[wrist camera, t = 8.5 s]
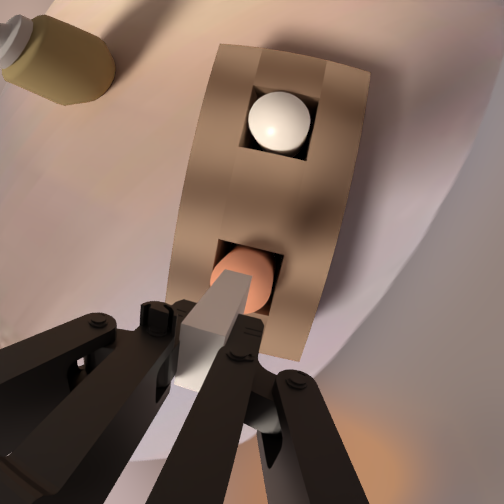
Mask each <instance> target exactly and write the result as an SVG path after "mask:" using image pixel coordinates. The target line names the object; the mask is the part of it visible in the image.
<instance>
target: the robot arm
mask: <svg viewBox="0 0 504 504" xmlns="http://www.w3.org/2000/svg"><path fill="white" fill-rule="evenodd" d="M251 280H252V276H250V275H246V274H242V273H238V272H234V271H231V270H227V269H225V270H224V271H223V272H222V273H221V274H220V276H219V277H218V278H217V279H216V281H215V282H214V283H213V284H212V286H211V287H210V288H209V289H208V290H207V292H206V293H205V294H204V295H203V297H202V298H201V299H200V300H199V302H198V303H196V302H192V301H189V300H185V299H183V300H180V301H177V302H175V303H174V304H173V305H170V304H167V303H164V302H159V301H150V302H145V303H143V304H141V312H140V326H139V327H138V328H137V329H135V330H134V331H129V330H123V329H117V323H116V320H115V319H114V318H113V317H112V316H110V315H107V314H104V313H90V314H86V315H84V316H82V317H79V318H77V319H74V320H72V321H69V322H67V323H64V324H62V325H59V326H57V327H54V328H52V329H49V330H47V331H44V332H42V333H39V334H37V335H35V336H32V337H30V338H27V339H25V340H22V341H20V342H17V343H15V344H12V345H10V346H7V347H5V348H3V349H0V504H103V503H104V502H105V500H106V498H107V497H108V495H109V493H110V492H111V490H112V488H113V486H114V485H115V483H116V481H117V480H118V478H119V476H120V475H121V473H122V471H123V470H124V468H125V466H126V465H127V463H128V461H129V460H130V458H131V456H132V455H133V453H134V451H135V450H136V448H137V446H138V444H139V443H140V441H141V439H142V438H143V436H144V434H145V433H146V431H147V429H148V428H149V426H150V424H151V423H152V421H153V419H154V417H155V416H156V414H157V412H158V411H159V409H160V407H161V406H162V404H163V402H164V401H165V399H166V397H167V396H168V394H169V392H170V386H171V380H172V379H173V377H174V376H175V382H174V384H175V385H178V386H181V387H184V388H187V389H190V390H193V391H196V392H199V393H198V395H197V397H196V399H195V401H194V403H193V405H192V408H191V410H190V412H189V414H188V416H187V418H186V420H185V422H184V424H183V427H182V429H181V431H180V433H179V435H178V437H177V439H176V441H175V443H174V445H173V447H172V450H171V452H170V454H169V456H168V458H167V460H166V462H165V464H164V466H163V468H162V470H161V473H160V475H159V477H158V479H157V481H156V483H155V485H154V487H153V489H152V491H151V493H150V495H149V497H148V499H147V501H146V503H145V504H223V502H224V497H225V494H226V490H227V486H228V482H229V479H230V475H231V471H232V467H233V463H234V459H235V455H236V451H237V447H238V443H239V439H240V435H241V431H242V427H243V423H244V424H246V425H248V426H250V427H252V428H254V429H256V430H257V440H258V446H259V452H260V458H261V464H262V470H263V476H264V482H265V487H266V493H267V499H268V504H369V502H368V500H367V497H366V495H365V493H364V490H363V488H362V486H361V483H360V481H359V479H358V476H357V474H356V472H355V470H354V467H353V465H352V463H351V461H350V458H349V456H348V453H347V451H346V449H345V447H344V445H343V442H342V440H341V438H340V435H339V433H338V431H337V428H336V426H335V424H334V422H333V419H332V417H331V415H330V413H329V410H328V408H327V406H326V404H325V401H324V399H323V397H322V395H321V392H320V390H319V388H318V385H317V383H316V382H315V380H314V379H313V378H312V377H311V376H309V375H308V374H306V373H304V372H302V371H298V370H284V371H281V372H279V373H278V375H275V374H273V373H271V372H269V371H267V370H266V369H265V368H263V367H262V366H261V364H260V363H259V361H258V353H259V349H260V344H261V340H262V335H263V330H264V324H263V322H262V320H261V319H259V318H255V317H251V316H247V315H244V310H245V306H246V302H247V297H248V293H249V289H250V284H251ZM81 358H84V365H82V366H78V365H77V360H79V359H81ZM10 453H11V454H10ZM8 454H10V455H8ZM7 455H8V456H7Z"/></svg>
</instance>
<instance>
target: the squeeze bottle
mask: <svg viewBox="0 0 504 504" xmlns="http://www.w3.org/2000/svg"><path fill="white" fill-rule="evenodd" d="M0 68H1V69H2V75H3V77H4V80H5V81H7V82H9V83H12V84H14V85H16V86H19V87H21V88H23V89H26V90H28V91H30V92H33V93H35V94H37V95H39V96H42V97H44V98H46V99H48V100H50V101H53V102H55V103H57V104H61V105H64V106H66V105H72V104H79V103H86V102H90V101H94V100H96V99H97V98H99V97H100V96H102V95H103V94H104V93H105V92H106V90H107V89H108V88H109V87H110V85H111V83H112V81H113V79H114V76H115V70H116V67H115V62H114V60H113V58H112V56H111V54H110V52H109V50H108V48H107V45H106V43H105V42H103V41H102V40H101V39H100V38H99V37H97V36H95V35H93V34H91V33H88V32H86V31H84V30H82V29H79V28H77V27H75V26H72V25H70V24H68V23H65V22H63V21H60V20H58V19H55V18H53V17H50V16H47V15H41V16H37V17H35V18H33V19H32V20H30V19H28V18H26V17H24V16H22V15H16V16H14V17H13V18H11V19H10V20H8V22H7V23H6V24H1V23H0Z"/></svg>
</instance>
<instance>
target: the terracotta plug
mask: <svg viewBox="0 0 504 504" xmlns="http://www.w3.org/2000/svg"><path fill="white" fill-rule="evenodd" d="M275 268H276V260H275V256H274V254H273V252H270V251H266V250H262V249H258V248H254V247H250V246H246V245H241V244H238V245H236V246H235V247H234V248H233V249H232V250H231V251H230V252H229V253H228V254H227V255H226V256H225V257H224V258H223V259H222V260H221V261H220V262H219V263H218V264H217V265H216V267H215V268H214V270H213V272H212V275H211V279H210V287H211V286H212V284H213V283H214V282H215V281H216V279H217V278H218V277H219V276H220V274H221V273H222V272H223V271H224V270H225V269H227V270H231V271H234V272H238V273H242V274H246V275H250V276H252V280H251V284H250V289H249V293H248V297H247V302H246V306H245V310H244V314H249V313H252V312H255V311H257V310H259V309H260V308H261V307H263V306H264V305H265V303H266V302H267V301H268V299H269V297H270V294H271V289H272V284H273V279H274V273H275Z"/></svg>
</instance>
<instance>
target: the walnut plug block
mask: <svg viewBox="0 0 504 504" xmlns="http://www.w3.org/2000/svg"><path fill="white" fill-rule="evenodd" d="M370 75H371V72H367V71H364V70H361V69H358V68H354V67H351V66H347V65H344V64H340V63H336V62H333V61H329V60H324V59H320V58H316V57H311V56H307V55H302V54H297V53H291V52H286V51H280V50H273V49H267V48H259V47H251V46H242V45H231V44H220V45H219V48H218V51H217V55H216V58H215V61H214V64H213V68H212V71H211V75H210V78H209V82H208V85H207V89H206V92H205V96H204V100H203V104H202V107H201V111H200V115H199V119H198V123H197V127H196V131H195V136H194V140H193V144H192V149H191V153H190V157H189V162H188V167H187V171H186V176H185V181H184V186H183V191H182V196H181V202H180V207H179V212H178V218H177V224H176V230H175V236H174V242H173V248H172V255H171V262H170V269H169V276H168V283H167V291H166V299H165V303H167V304H170V305H173V304H174V303H175V302H177V301H180V300H183V299H185V300H189V301H192V302H196V303H198V302H199V300H200V299H201V298H202V297H203V295H204V294H205V293H206V292H207V290H208V289H209V288H210V279H211V275H212V272H213V270H214V268H215V267H216V265H217V264H218V263H219V262H220V261H221V260H222V259H223V258H224V257H225V256H226V255H227V254H228V253H229V252H230V248H231V243H232V242H233V243H237V244H241V245H246V246H250V247H254V248H258V249H262V250H266V251H270V252H274V253H279V254H282V257H281V261H280V265H279V269H278V273H277V277H276V281H275V285H274V289H271V294H270V297H269V299H268V301H267V302H266V303H265V305H264V306H263V307H261V308H260V309H259V310H257V311H255V312H252V313H249V314H244V315H247V316H251V317H255V318H259V319H261V320H262V322H263V324H264V330H263V335H262V340H261V344H260V349H259V353H262V354H266V355H271V356H275V357H279V358H284V359H288V360H293V361H298V362H299V361H300V358H301V355H302V352H303V349H304V347H305V344H306V341H307V338H308V335H309V332H310V329H311V326H312V323H313V320H314V317H315V314H316V311H317V308H318V304H319V301H320V298H321V295H322V291H323V288H324V285H325V282H326V278H327V275H328V271H329V268H330V264H331V261H332V257H333V254H334V250H335V246H336V243H337V239H338V235H339V231H340V227H341V223H342V219H343V215H344V211H345V207H346V203H347V199H348V194H349V190H350V186H351V181H352V177H353V172H354V167H355V163H356V158H357V153H358V148H359V142H360V137H361V132H362V126H363V121H364V115H365V109H366V102H367V96H368V89H369V82H370ZM272 92H286V93H289V94H292V95H294V96H296V97H297V98H299V99H300V100H301V101H302V102H303V103H304V104H305V106H306V107H307V109H308V111H309V115H310V119H313V123H312V127H311V132H310V137H309V141H308V146H307V151H306V155H305V160H304V161H303V160H299V159H295V158H291V157H286V156H282V155H277V154H273V153H268V152H263V151H258V150H253V149H252V147H253V142H254V138H255V137H254V136H253V134H252V132H251V130H250V127H249V122H248V119H249V113H250V110H251V108H252V106H253V104H254V103H255V102H256V101H257V100H258V99H259V98H261V97H262V96H264V95H266V94H269V93H272Z"/></svg>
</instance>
